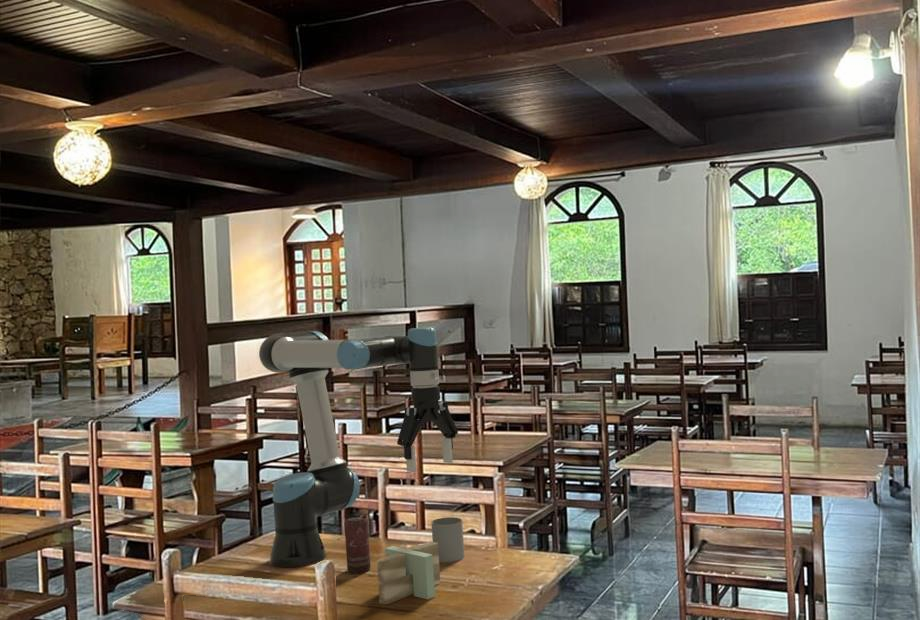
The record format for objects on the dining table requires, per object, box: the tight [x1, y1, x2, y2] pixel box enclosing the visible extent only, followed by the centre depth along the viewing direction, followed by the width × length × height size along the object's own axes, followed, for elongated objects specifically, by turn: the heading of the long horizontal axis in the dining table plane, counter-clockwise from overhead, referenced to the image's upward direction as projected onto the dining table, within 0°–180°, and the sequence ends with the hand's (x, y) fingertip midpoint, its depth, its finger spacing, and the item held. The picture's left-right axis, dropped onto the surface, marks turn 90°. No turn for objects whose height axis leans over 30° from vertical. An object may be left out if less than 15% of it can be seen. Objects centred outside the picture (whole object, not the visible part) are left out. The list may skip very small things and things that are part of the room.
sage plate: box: [384, 545, 436, 600], centre depth 204 cm, size 14×2×10 cm, turn 47°
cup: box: [431, 516, 465, 563], centre depth 231 cm, size 8×8×10 cm
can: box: [344, 514, 371, 575], centre depth 225 cm, size 6×6×14 cm
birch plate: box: [376, 541, 441, 605], centre depth 204 cm, size 2×18×10 cm, turn 137°
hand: (430, 467), depth 222 cm, fingers open, 13 cm apart
